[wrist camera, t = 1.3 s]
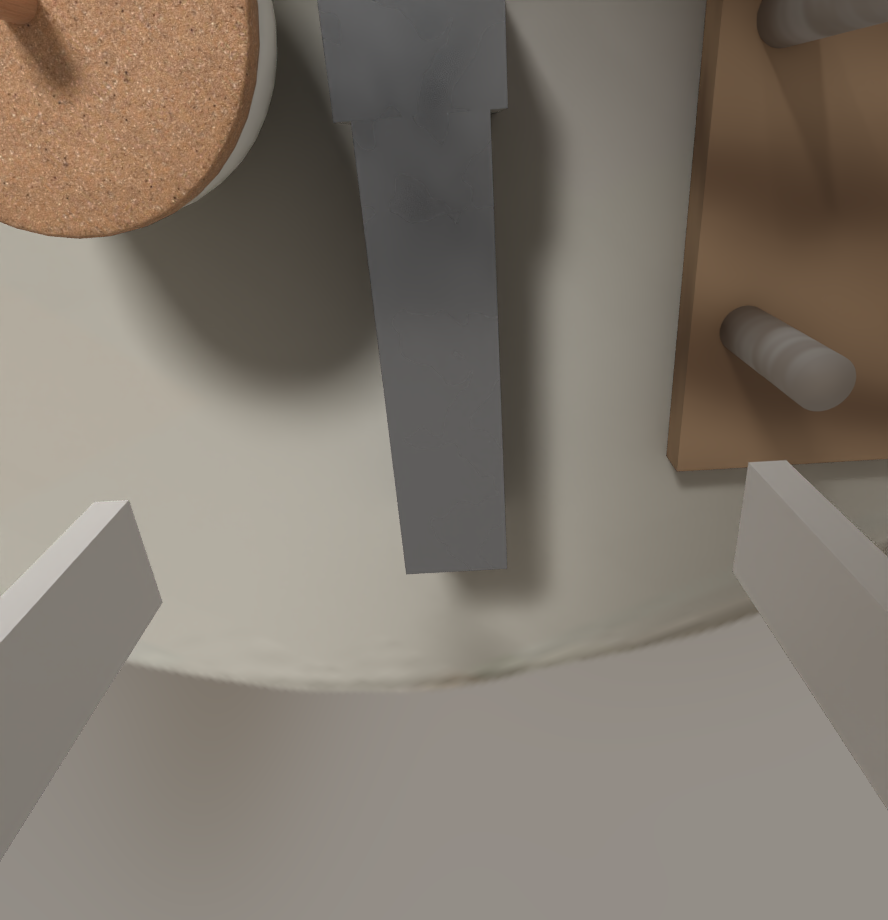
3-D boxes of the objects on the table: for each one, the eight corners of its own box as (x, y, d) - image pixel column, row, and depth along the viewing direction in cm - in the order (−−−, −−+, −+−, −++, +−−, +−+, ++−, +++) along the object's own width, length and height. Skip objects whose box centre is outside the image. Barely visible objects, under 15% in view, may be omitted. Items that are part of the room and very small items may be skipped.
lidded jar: (192, 270, 25) (66, 337, 17) (-69, 40, 22) (-385, -15, 14) (377, 40, 22) (332, -16, 14) (101, -272, 19) (-184, -602, 10)
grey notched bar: (339, -13, 21) (310, -51, 17) (491, -27, 21) (503, -69, 17) (402, 509, 30) (393, 574, 26) (509, 503, 30) (519, 568, 26)
